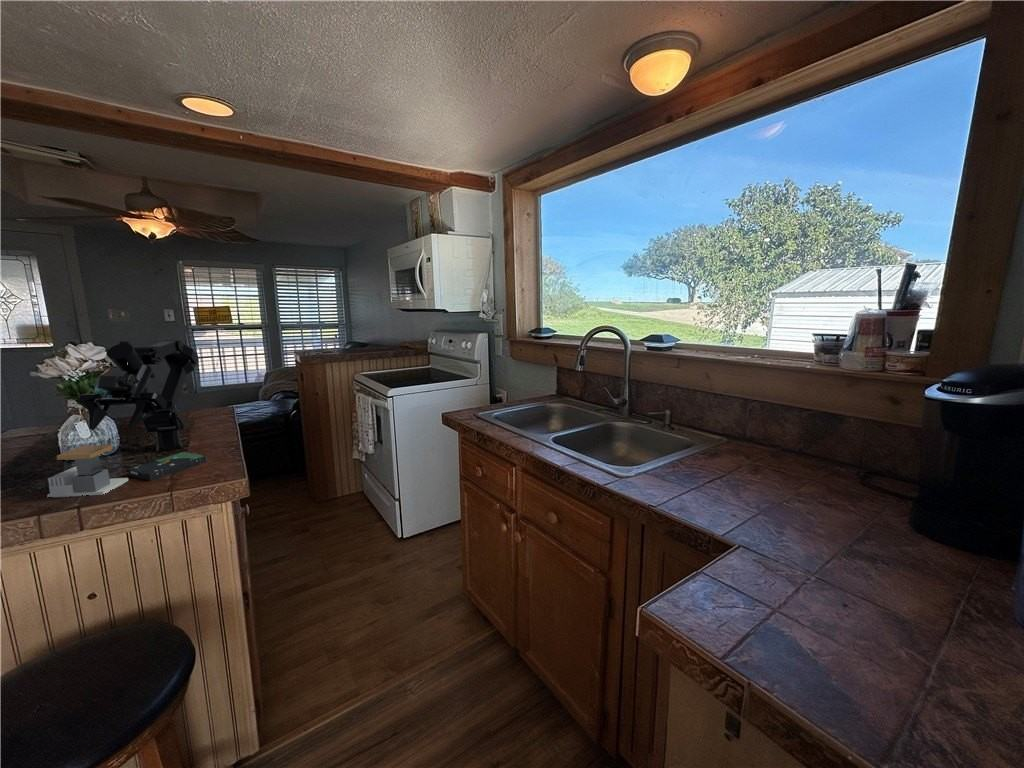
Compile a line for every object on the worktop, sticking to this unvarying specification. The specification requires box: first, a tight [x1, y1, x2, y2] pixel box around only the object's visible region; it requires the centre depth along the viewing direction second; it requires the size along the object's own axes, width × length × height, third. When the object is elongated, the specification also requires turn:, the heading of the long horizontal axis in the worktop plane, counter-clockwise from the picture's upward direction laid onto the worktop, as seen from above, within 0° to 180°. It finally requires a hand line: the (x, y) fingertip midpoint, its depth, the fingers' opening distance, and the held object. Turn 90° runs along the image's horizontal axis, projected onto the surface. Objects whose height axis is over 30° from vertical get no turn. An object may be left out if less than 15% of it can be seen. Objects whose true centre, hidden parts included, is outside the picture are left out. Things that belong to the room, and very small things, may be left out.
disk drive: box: [127, 451, 208, 482], centre depth 119 cm, size 10×3×15 cm
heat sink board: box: [46, 466, 129, 498], centre depth 106 cm, size 8×12×5 cm
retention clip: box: [56, 444, 114, 475], centre depth 104 cm, size 7×7×6 cm
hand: (110, 428), depth 110 cm, fingers open, 9 cm apart
